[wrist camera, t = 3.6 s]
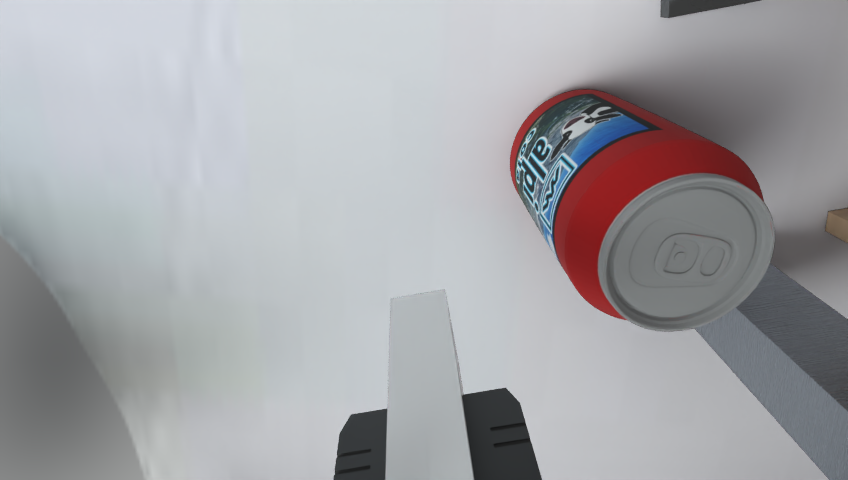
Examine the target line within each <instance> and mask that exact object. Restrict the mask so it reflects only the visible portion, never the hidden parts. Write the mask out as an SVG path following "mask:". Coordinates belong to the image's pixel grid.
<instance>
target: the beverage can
mask: <svg viewBox="0 0 848 480" xmlns="http://www.w3.org/2000/svg"><path fill="white" fill-rule="evenodd" d="M510 171H511V177H512V181H513V184H514V186H515V188H516V190H517V192H518V194H519V196H520V198H521V199H522V201H523V203H524V205H525V206H526V208H527V210H528V212H529V213H530V215H531V217H532V218H533V220H534V222H535V223H536V225H537V227H538V228H539V230H540V232H541V233H542V235H543V237H544V238H545V240H546V242H547V243H548V245H549V247H550V248H551V250H552V251H553V253H554V255H555V256H556V258H557V259H558V261H559V263H560V264H561V266H562V267H563V269H564V271H565V272H566V274H567V275H568V277H569V278H570V280H571V282H572V283H573V285H574V286H575V288H576V289H577V291H578V292H579V293H580V295H581V296H582V297H583V298H584V299H585V300H586V301H587V302H589V303H590V304H591V305H592V306H594V307H595V308H597V309H599V310H600V311H602V312H604V313H606V314H608V315H611V316H613V317H616V318H619V319H623V320H628V321H630V322H631V323H633V324H635V325H638V326H640V327H643V328H646V329H650V330H655V331H664V332H672V331H683V330H688V329H693V328H696V327H700V326H703V325H706V324H708V323H710V322H713V321H715V320H717V319H719V318H721V317H722V316H724V315H726V314H727V313H729V312H730V311H732V310H733V309H734V308H736V307H737V306H738V305H739V304H741V303H742V302H743V301H744V300H745V299H746V298H747V297H748V296H749V295H750V294H751V293H752V292H753V290H754V289H755V288H756V287H757V285H758V284H759V282H760V281H761V279H762V278H763V276H764V274H765V272H766V270H767V268H768V266H769V264H770V261H771V258H772V254H773V250H774V244H775V230H774V224H773V219H772V217H771V214H770V212H769V210H768V208H767V206H766V205H765V203H764V200H763V196H762V192H761V189H760V186H759V184H758V182H757V180H756V178H755V176H754V174H753V173H752V171H751V170H750V168H749V167H748V166H747V165H746V163H745V162H744V161H743V160H741V159H740V158H739V157H738V156H737V155H735V154H734V153H733V152H731V151H729V150H728V149H726V148H724V147H722V146H720V145H718V144H716V143H714V142H712V141H710V140H708V139H706V138H704V137H702V136H700V135H698V134H696V133H693V132H691V131H689V130H687V129H685V128H683V127H681V126H679V125H677V124H675V123H673V122H670V121H668V120H666V119H664V118H662V117H660V116H658V115H655V114H653V113H651V112H649V111H647V110H644V109H642V108H640V107H638V106H636V105H634V104H631V103H629V102H627V101H624V100H622V99H620V98H617V97H615V96H613V95H610V94H608V93H605V92H602V91H597V90H587V89H584V90H574V91H569V92H565V93H562V94H560V95H557V96H555V97H553V98H551V99H549V100H547V101H546V102H544V103H543V104H541V105H540V106H539V107H538V108H536V109H535V110H534V111H533V112H532V113H531V114H530V115H529V116H528V118H527V119H526V120H525V121H524V123H523V124H522V126H521V127H520V129H519V131H518V133H517V135H516V137H515V140H514V143H513V146H512V150H511V156H510Z"/></svg>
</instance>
